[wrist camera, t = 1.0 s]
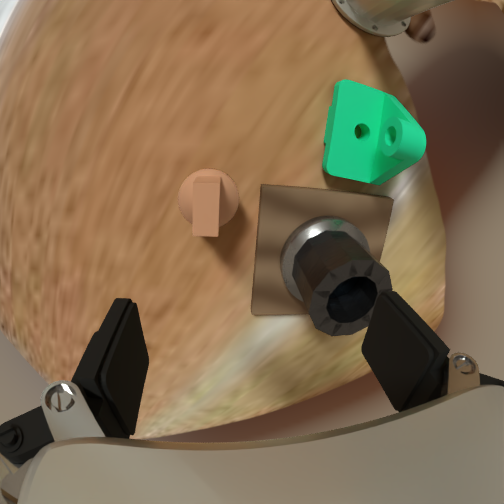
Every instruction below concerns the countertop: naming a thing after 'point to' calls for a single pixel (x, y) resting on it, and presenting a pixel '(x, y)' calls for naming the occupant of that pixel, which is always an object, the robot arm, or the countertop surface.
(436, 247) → the countertop surface
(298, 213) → the mount board
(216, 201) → the tan knob
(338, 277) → the black hollow cylinder
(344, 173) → the camera mount
